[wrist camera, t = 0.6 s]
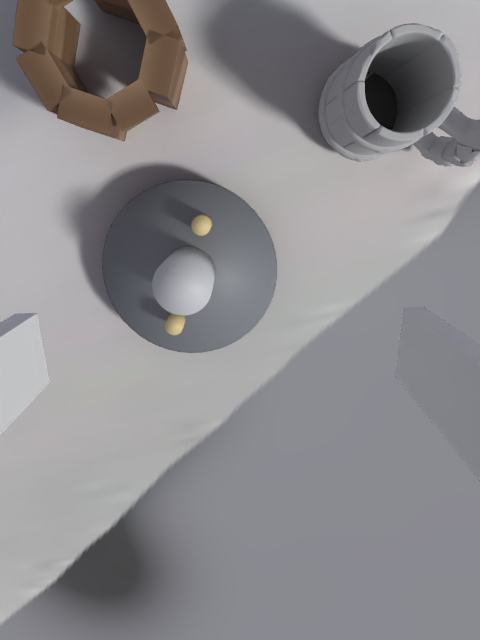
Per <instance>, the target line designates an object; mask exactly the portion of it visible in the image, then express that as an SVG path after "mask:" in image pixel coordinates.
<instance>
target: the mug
mask: <svg viewBox="0 0 480 640" xmlns="http://www.w3.org/2000/svg"><path fill="white" fill-rule="evenodd" d="M367 72H370V73H368V74H367ZM374 73H376V74H378V75H380V76H381V77H382V78H385V80H386V81H387V82H389V83H390V85H391V86H392V87H393V89H394V91H395V94H396V97H397V103H398V109H397V114H398V115H397V118H396V122H395V125H394V127H393V129H392V131H391V130H389V129H387V128H385V127H383V126H380V124H379V123H378V122H377V121H376V120H375V118H374V117H373V116H372V114H371V112H370V110H369V108H368V106H367V102H366V98H365V83H364V81H365V80H366V79H367V78H369V77H370V76H371V75H372V74H374ZM460 79H461V67H460V60H459V55H458V53H457V50H456V48H455V46H454V45H453V43H452V42H451V40H450V39H449V38H448V37H447V36H446V35H443V32H442V31H440V30H436V29H434V28H432V27H428V26H424V25H421V24H415V23H412V24H404V25H400V26H397V27H395V28H393V29H391V30H390V31H387V32H386V33H384V34H383V35H382V36H379V37H377V38H375V39H373V40H371V41H370V42H368V43H367V44H365V45H364V46H363V47H362V48H360V49H359V50H358V51H357V52H356V53H355V54H354V55H353V57H351V58H349V59H348V60H347V61H345V62H344V63H343V64H341V65H340V66H339V67H338V68H337V69H336V70H335V71H334V73H332V74H331V75H330V76H329V78H328V80H327V83H326V84H325V86H324V89H323V91H322V94H321V98H320V103H319V113H318V114H319V124H320V128H321V131H322V134H323V136H324V138H325V140H326V141H327V143H328V144H329V145H330V146H331V147H332V148H333V149H334V150H335V151H336V152H337V153H339V154H340V155H342V156H343V157H345V158H348V159H351V160H355V161H358V162H362V161H368V160H374V159H377V158H380V157H383V156H385V155H387V154H388V153H390V152H392V151H396V150H400V149H403V148H405V147H408V146H410V145H412V144H413V145H414V146H415V147H416V148H417V149H418V150H419V151H420V152H421V154H422V156H424V157H425V158H426V159H430V160H432V161H433V162H434V163H436V164H437V165H444V166H455V165H456V166H461V167H465V166H471V165H472V164H473V163H474V161H476V160H477V159H478V158H480V120H474V119H470V118H468V117H466V116H465V115H464V114H463V113H462V112H460V111H459V110H458V109H457V108H455V107H454V105H455V103H456V100H457V98H458V94H459V87H460V86H461V80H460ZM437 127H438V128H440V129H441V130H443V131H445V132H446V133H447V134H449V135H450V136H452V137H453V138H452V137H444V136H440V137H439V138H438V137H437V136H436V135H435V134H434V133H433V132H432V131H434V130H435V129H436V128H437Z"/></svg>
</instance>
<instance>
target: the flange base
mask: <svg viewBox="0 0 480 640" xmlns="http://www.w3.org/2000/svg"><path fill="white" fill-rule="evenodd" d="M102 270H103V277H104V282H105V286H106V290H107V293H108V295H109V298H110V300H111V302H112V304H113V306H114V308H115V309H116V311H117V313H118V314H119V315H120V317H121V318H122V319H123V321H124V322H125V323H126V324H127V325H128V326H129V327H130V328H131V329H132V330H134V331H135V332H136V333H137V334H138V335H140V336H141V337H143V338H144V339H146V340H147V341H149V342H151V343H153V344H155V345H157V346H160V347H163V348H166V349H169V350H173V351H178V352H186V353H201V352H207V351H213V350H216V349H220V348H223V347H225V346H227V345H230V344H232V343H234V342H235V341H237V340H239V339H241V338H242V337H243V336H244V335H246V334H247V333H248V332H250V331H251V330H252V329H253V328H254V327H255V326H256V325H257V323H258V322H259V321H260V319H261V318H262V317H263V315H264V314H265V312H266V310H267V308H268V307H269V304H270V302H271V299H272V297H273V294H274V290H275V286H276V279H277V260H276V253H275V249H274V245H273V242H272V239H271V237H270V234H269V232H268V230H267V228H266V226H265V225H264V223H263V221H262V220H261V219H260V217H259V216H258V215H257V213H256V212H255V211H254V210H253V209H252V208H251V207H250V206H249V205H248V204H247V203H246V202H245V201H244V200H243V199H241V198H240V197H239V196H237V195H236V194H234V193H233V192H231V191H229V190H227V189H225V188H223V187H220V186H218V185H215V184H211V183H207V182H202V181H193V180H181V181H173V182H167V183H163V184H160V185H157V186H154V187H152V188H150V189H148V190H146V191H144V192H142V193H141V194H139V195H138V196H136V197H135V198H133V199H132V200H131V201H130V202H129V203H128V204H127V205H126V206H125V207H124V208H123V209H122V210H121V212H120V213H119V214H118V215H117V217H116V219H115V220H114V222H113V224H112V225H111V228H110V230H109V232H108V234H107V237H106V241H105V245H104V250H103V258H102Z"/></svg>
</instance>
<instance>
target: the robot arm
mask: <svg viewBox="0 0 480 640" xmlns="http://www.w3.org/2000/svg"><path fill="white" fill-rule="evenodd" d="M395 377H396V378H397V380H398V381H399V382H400V383H401V384H402V386H403V387H404V388H405V390H406V391H407V392H408V393H409V394H410V396H411V397H412V398H413V399H414V401H415V402H416V403H417V404H418V405H419V407H420V408H421V409H422V410H423V412H424V413H425V414H426V415H427V417H428V418H429V419H430V420H431V422H432V423H433V424H434V425H435V426H436V428H437V429H438V430H439V431H440V433H441V434H442V435H443V436H444V438H445V439H446V440H447V441H448V442H449V444H450V445H451V446H452V447H453V449H454V450H455V451H456V452H457V454H458V455H459V456H460V457H461V459H462V460H463V461H464V462H465V463H466V465H467V466H468V467H469V468H470V469H471V471H472V472H473V473H474V475H475V476H476V477H477V478H478V479H479V481H480V343H478V342H477V341H475V340H474V339H472V338H471V337H469V336H468V335H466V334H465V333H463V332H462V331H460V330H459V329H457V328H456V327H454V326H452V325H451V324H450V323H448V322H446V321H445V320H443V319H442V318H440V317H439V316H437V315H436V314H435V313H433V312H431V311H430V310H428V309H427V308H425V307H404V308H403V315H402V323H401V333H400V341H399V349H398V358H397V366H396V375H395ZM49 383H50V382H49V377H48V371H47V366H46V360H45V355H44V349H43V344H42V338H41V333H40V327H39V322H38V316H37V313H25V314H14V315H12V316H11V317H9V318H7V319H6V320H4V321H2V322H1V323H0V435H1V434H2V433H3V432H4V430H5V429H6V428H7V427H8V426H9V425H10V424H11V423H12V422H13V421H14V420H15V419H16V418H17V417H18V416H19V414H20V413H21V412H22V411H23V410H24V409H25V408H26V407H27V406H28V405H29V404H30V403H31V402H32V401H33V400H34V399H35V397H36V396H37V395H38V394H39V393H40V392H41V391H42V390H43V389H44V388H45V387H46V386H47V385H48V384H49Z"/></svg>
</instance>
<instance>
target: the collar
mask: <svg viewBox="0 0 480 640" xmlns="http://www.w3.org/2000/svg"><path fill="white" fill-rule="evenodd" d="M71 1H73V0H18V2H17V11H16V20H15V28H14V37H13V46H15V47H16V48H18V49H20V50H21V51H23V52H24V53H23V54H22V55H20V56H19V57H17V58H16V60H17V62H18V63H19V65H20V66H21V68H22V70H23V71H24V73H25V75H26V76H27V78H28V79H29V81H30V83H31V84H32V86H33V88H34V89H35V91H36V92H37V94H38V96H39V97H40V99H41V101H42V102H43V104H44V106H45V107H46V109H47V110H49V111H51V112H53V113H56V114H58V115H57V118H58V119H61V120H64V121H66V122H69V123H71V124H74V125H76V126H79V127H82V128H85V129H88V130H91V131H94V132H97V133H100V134H103V135H106V136H109V137H113V138H116V139H119V140H122V141H125V137H126V132H127V131H128V130H130V129H132V128H133V127H135V126H137V125H138V124H140V123H141V122H143V121H145V120H146V119H148V118H150V117H151V116H153V115H155V114H156V113H158V112H160V111H159V110H158V108H157V106H156V104H155V103H158V104H161V105H164V106H167V107H170V108H173V109H176V110H177V108H178V103H179V99H180V95H181V90H182V86H183V82H184V77H185V73H186V69H187V65H188V60H187V58H186V55H185V51H186V47H185V44H184V41H183V38H182V35H181V33H180V30H179V27H178V25H177V23H176V21H175V19H174V17H173V15H172V13H171V11H170V9H169V7H168V5H167V3H166V1H165V0H94V1H95V2H96V3H97V5H98V6H99V7H100V8H101V10H102V11H105V12H108V13H111V14H114V15H116V16H119V17H122V18H125V19H128V20H131V21H133V22H136V23H139V24H140V25H141V27H142V29H143V31H144V33H145V35H146V36H147V39H146V44H145V48H144V53H143V58H142V63H141V68H140V73H139V78H138V80H137V81H135V82H133V83H132V84H130V85H129V86H127V87H125V88H124V89H122V90H121V91H119V92H117V93H116V94H114V95H113V96H111V97H109V98H108V99H104V98H101V97H98V96H95V95H92V94H89V93H88V92H87V91H86V89H85V87H84V86H83V84H82V82H81V80H80V79H79V77H78V75H77V73H76V72H75V70H74V63H75V57H76V50H77V44H78V38H79V32H80V25H81V24H80V23H79V22H78V21H77V20H76V19H75V18H74V17H73V16H72V15H71V14H70V13H69V12H68V11H67V10H66V9H65V8H64V6H65V5H67V4H68V3H70V2H71Z"/></svg>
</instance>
